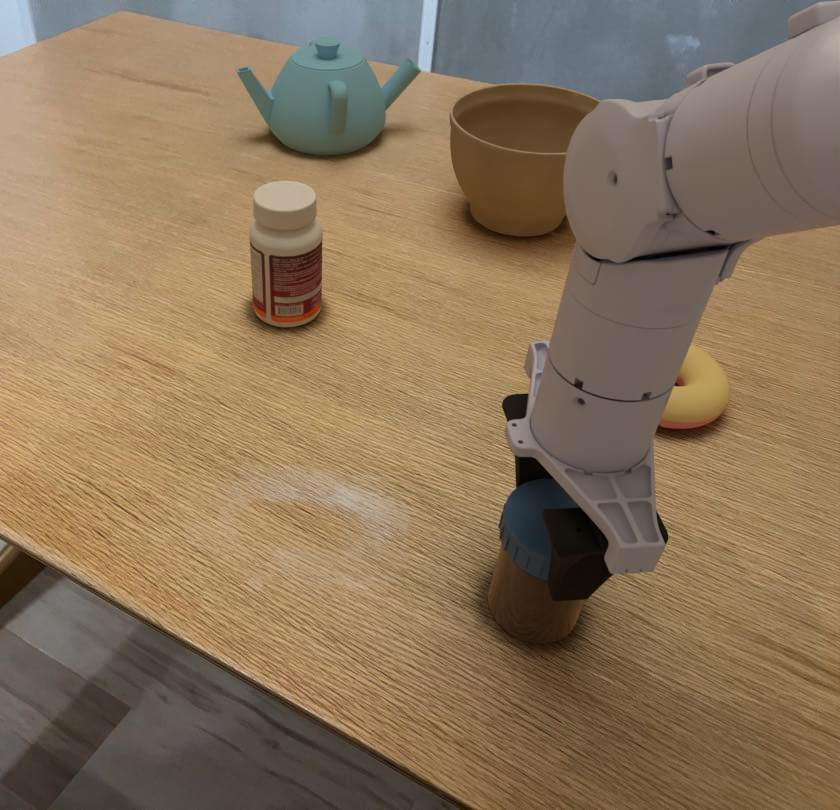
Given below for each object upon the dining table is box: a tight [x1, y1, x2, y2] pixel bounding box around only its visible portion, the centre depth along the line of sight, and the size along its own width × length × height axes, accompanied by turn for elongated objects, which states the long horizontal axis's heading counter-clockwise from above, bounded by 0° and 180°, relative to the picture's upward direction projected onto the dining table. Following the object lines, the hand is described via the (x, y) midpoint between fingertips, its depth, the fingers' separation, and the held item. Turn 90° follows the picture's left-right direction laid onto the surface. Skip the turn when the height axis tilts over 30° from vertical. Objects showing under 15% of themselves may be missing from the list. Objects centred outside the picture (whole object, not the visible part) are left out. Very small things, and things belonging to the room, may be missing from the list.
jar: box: [487, 542, 586, 645], centre depth 48 cm, size 5×5×8 cm
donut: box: [658, 343, 731, 430], centre depth 64 cm, size 10×5×9 cm
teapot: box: [235, 36, 422, 156], centre depth 98 cm, size 15×17×11 cm
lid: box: [497, 479, 580, 581], centre depth 46 cm, size 6×6×2 cm
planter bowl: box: [449, 82, 602, 238], centre depth 83 cm, size 16×16×11 cm
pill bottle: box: [248, 180, 324, 328], centre depth 70 cm, size 6×6×11 cm
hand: (551, 546), depth 47 cm, fingers closed on lid, 6 cm apart
